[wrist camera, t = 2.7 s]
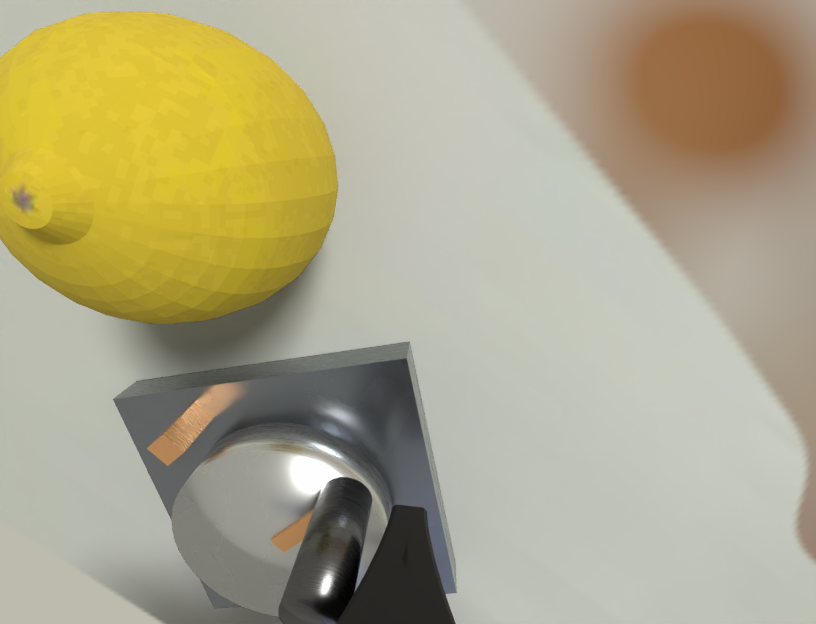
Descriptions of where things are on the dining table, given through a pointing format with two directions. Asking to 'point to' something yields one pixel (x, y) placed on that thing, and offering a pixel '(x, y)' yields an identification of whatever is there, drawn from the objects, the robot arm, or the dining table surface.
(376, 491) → the dial
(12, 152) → the lemon
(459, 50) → the dining table surface
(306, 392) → the dial plate
